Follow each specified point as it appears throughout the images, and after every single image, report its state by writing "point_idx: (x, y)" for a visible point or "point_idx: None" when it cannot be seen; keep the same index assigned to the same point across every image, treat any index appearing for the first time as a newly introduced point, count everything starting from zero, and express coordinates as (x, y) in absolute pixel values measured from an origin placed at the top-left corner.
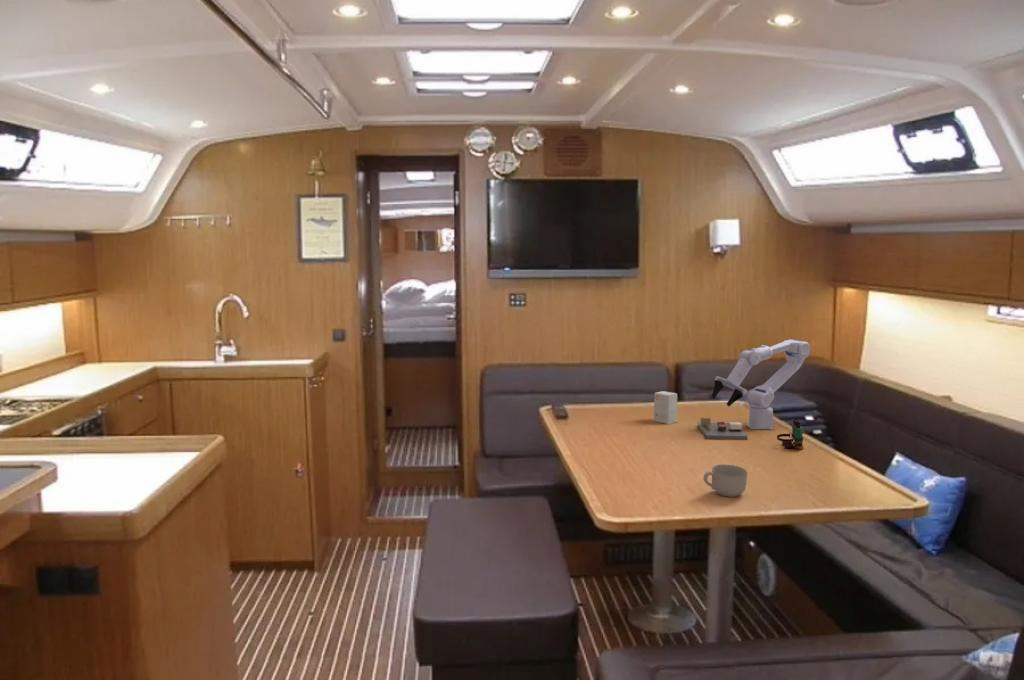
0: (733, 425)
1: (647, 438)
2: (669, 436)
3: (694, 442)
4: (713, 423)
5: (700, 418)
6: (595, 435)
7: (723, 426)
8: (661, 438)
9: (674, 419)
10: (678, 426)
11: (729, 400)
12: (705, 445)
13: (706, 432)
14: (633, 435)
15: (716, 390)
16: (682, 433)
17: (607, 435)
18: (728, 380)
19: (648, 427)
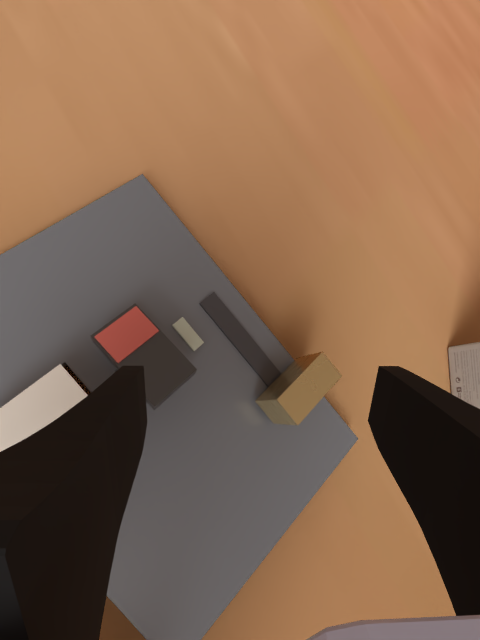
0: (40, 379)
1: (343, 62)
2: (306, 137)
3: (152, 87)
4: (284, 499)
5: (327, 361)
6: (471, 26)
7: (110, 324)
8: (307, 87)
9: (467, 398)
10: (396, 347)
11: (115, 389)
12: (69, 54)
13: (182, 239)
14: (404, 82)
15: (444, 445)
16: (300, 225)
17: (452, 42)
18: (471, 622)
19: (455, 236)
